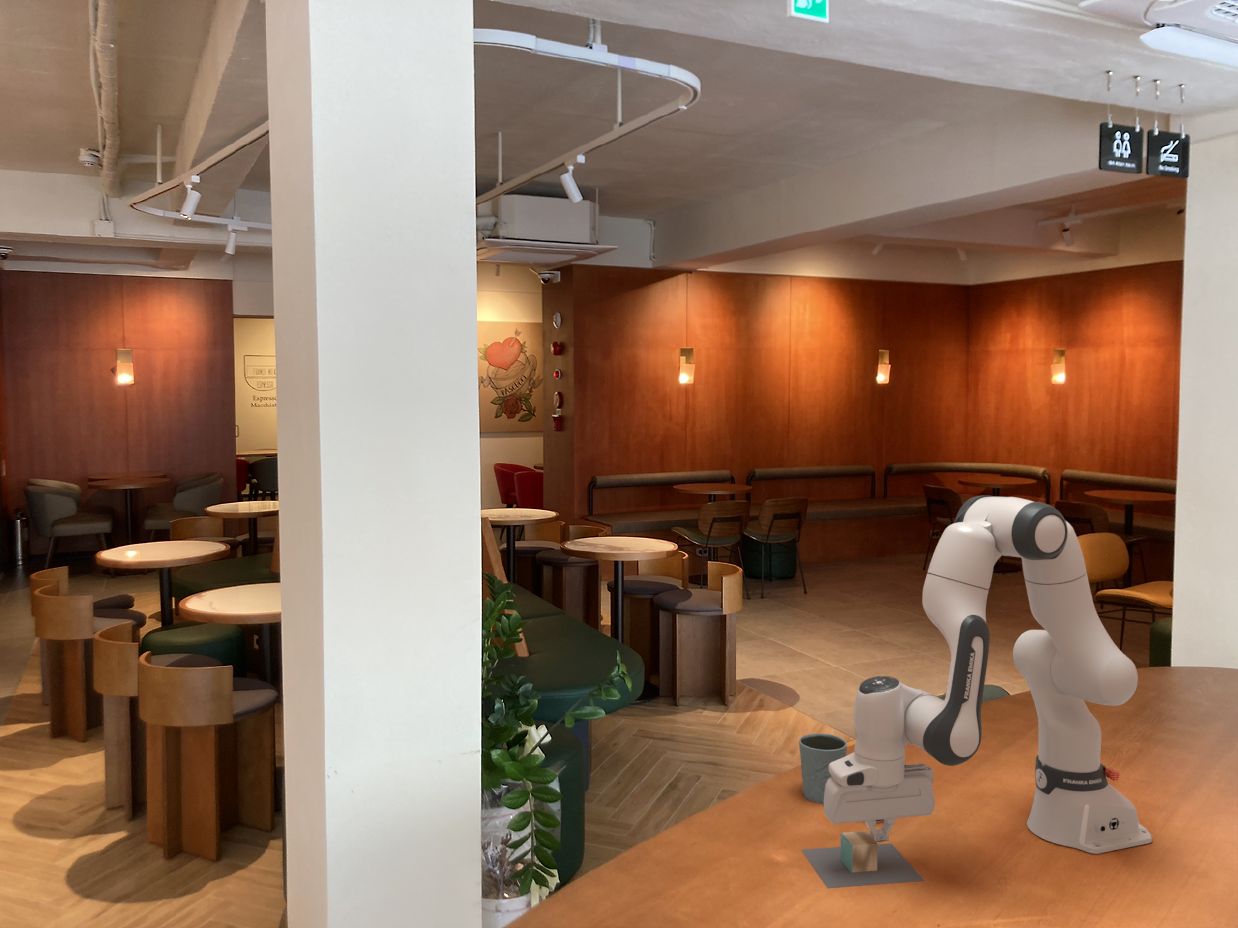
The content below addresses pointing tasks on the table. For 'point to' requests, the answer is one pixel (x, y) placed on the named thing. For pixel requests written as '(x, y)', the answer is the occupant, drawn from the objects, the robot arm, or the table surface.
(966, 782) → the table surface
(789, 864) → the table surface
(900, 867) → the rubber mat
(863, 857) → the maple cube
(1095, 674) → the robot arm
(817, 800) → the grey blue cup
